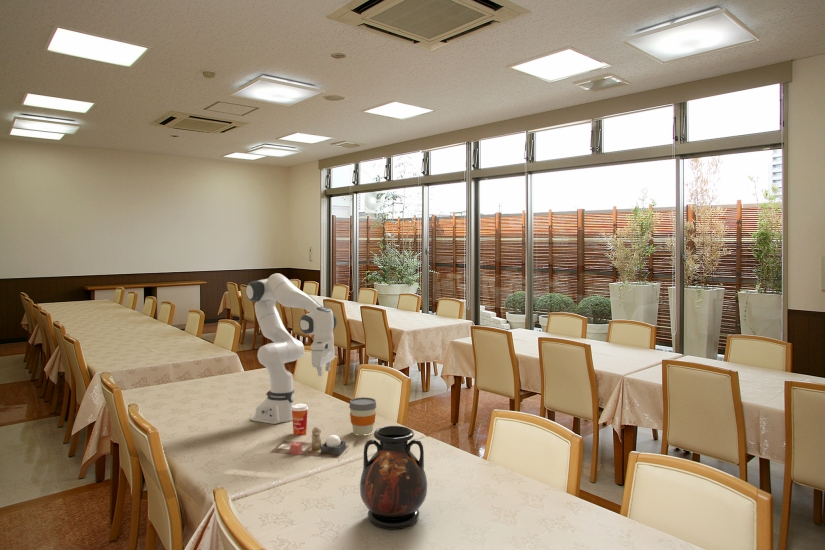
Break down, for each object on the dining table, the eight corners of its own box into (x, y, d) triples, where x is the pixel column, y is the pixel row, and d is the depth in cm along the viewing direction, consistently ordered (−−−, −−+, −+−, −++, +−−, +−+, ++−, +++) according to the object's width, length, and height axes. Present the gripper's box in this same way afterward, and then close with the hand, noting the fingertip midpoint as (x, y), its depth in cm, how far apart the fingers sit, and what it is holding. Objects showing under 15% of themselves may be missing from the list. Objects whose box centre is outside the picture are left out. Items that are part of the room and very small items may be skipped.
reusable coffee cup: (344, 434, 247) (343, 402, 246) (359, 426, 258) (359, 395, 258) (367, 439, 241) (367, 406, 241) (381, 430, 252) (381, 399, 252)
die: (290, 453, 220) (290, 445, 220) (293, 450, 223) (293, 441, 223) (298, 454, 219) (298, 445, 219) (301, 451, 223) (301, 442, 223)
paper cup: (287, 437, 244) (287, 406, 243) (298, 431, 250) (298, 402, 250) (301, 439, 240) (301, 409, 239) (312, 434, 247) (311, 404, 246)
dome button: (324, 451, 221) (324, 437, 220) (329, 446, 227) (329, 432, 226) (337, 452, 220) (337, 438, 219) (342, 447, 226) (342, 433, 225)
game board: (269, 456, 221) (268, 445, 221) (283, 443, 235) (283, 433, 235) (338, 461, 216) (338, 450, 215) (349, 449, 229) (349, 438, 229)
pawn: (310, 450, 223) (310, 428, 223) (313, 447, 227) (313, 425, 227) (319, 451, 222) (319, 428, 222) (322, 447, 226) (322, 425, 226)
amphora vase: (425, 501, 182) (425, 420, 181) (429, 535, 161) (429, 443, 159) (361, 502, 182) (361, 420, 180) (357, 536, 160) (357, 444, 159)
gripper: (325, 339, 254) (325, 367, 254) (308, 346, 234) (309, 378, 234) (338, 339, 253) (338, 368, 253) (322, 347, 232) (322, 378, 233)
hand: (324, 373), depth 244 cm, fingers open, 8 cm apart
